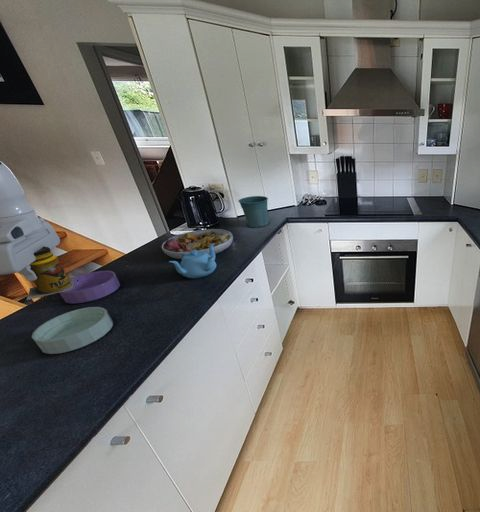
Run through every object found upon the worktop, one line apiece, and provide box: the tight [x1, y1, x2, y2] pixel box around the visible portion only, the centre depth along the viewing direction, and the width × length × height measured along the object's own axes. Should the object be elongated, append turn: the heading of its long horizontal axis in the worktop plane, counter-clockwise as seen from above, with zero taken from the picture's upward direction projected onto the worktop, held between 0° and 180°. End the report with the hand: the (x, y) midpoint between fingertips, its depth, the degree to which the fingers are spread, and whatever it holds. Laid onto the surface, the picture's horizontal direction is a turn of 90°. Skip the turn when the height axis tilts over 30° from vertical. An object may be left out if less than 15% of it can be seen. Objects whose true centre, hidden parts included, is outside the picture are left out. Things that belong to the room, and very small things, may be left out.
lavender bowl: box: [58, 270, 121, 304], centre depth 101 cm, size 15×15×5 cm
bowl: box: [161, 228, 234, 260], centre depth 137 cm, size 30×30×8 cm
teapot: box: [168, 243, 217, 279], centre depth 115 cm, size 15×15×10 cm
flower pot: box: [238, 195, 270, 228], centre depth 168 cm, size 16×16×16 cm
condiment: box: [26, 247, 74, 301], centre depth 73 cm, size 7×8×12 cm
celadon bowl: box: [31, 306, 114, 355], centre depth 81 cm, size 15×15×5 cm
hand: (42, 272), depth 74 cm, fingers closed on condiment, 6 cm apart
